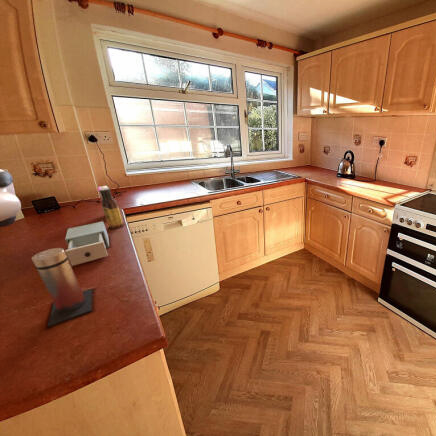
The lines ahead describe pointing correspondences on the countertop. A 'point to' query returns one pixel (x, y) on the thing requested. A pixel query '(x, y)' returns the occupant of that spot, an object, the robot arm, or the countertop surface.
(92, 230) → the cabinet
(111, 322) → the countertop surface
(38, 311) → the countertop surface
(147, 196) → the countertop surface
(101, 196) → the candy bar box
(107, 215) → the sauce bottle
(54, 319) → the mat
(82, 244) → the drawer
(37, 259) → the metal canister
